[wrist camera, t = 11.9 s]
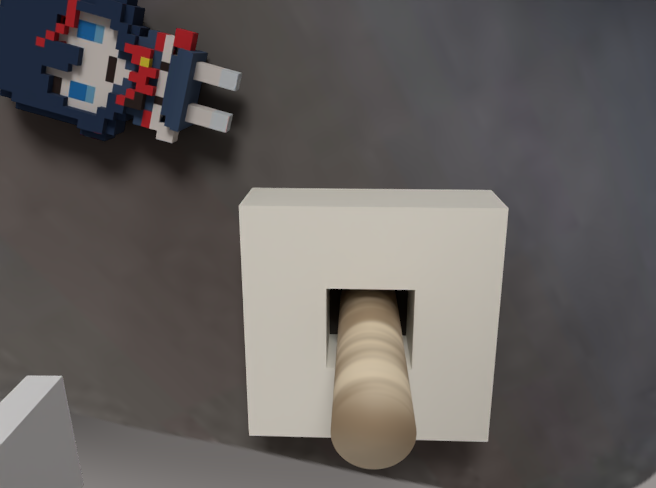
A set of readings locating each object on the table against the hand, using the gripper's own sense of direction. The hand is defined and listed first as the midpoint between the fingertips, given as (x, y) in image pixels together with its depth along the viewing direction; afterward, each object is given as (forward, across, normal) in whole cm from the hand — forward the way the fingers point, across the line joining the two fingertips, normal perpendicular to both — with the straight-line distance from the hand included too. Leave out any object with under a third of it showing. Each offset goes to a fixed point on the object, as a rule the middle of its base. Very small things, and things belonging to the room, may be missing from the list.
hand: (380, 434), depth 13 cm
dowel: (+30, -1, -10) cm, 32 cm away
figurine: (+30, -16, +6) cm, 35 cm away
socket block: (+30, -1, -10) cm, 32 cm away
